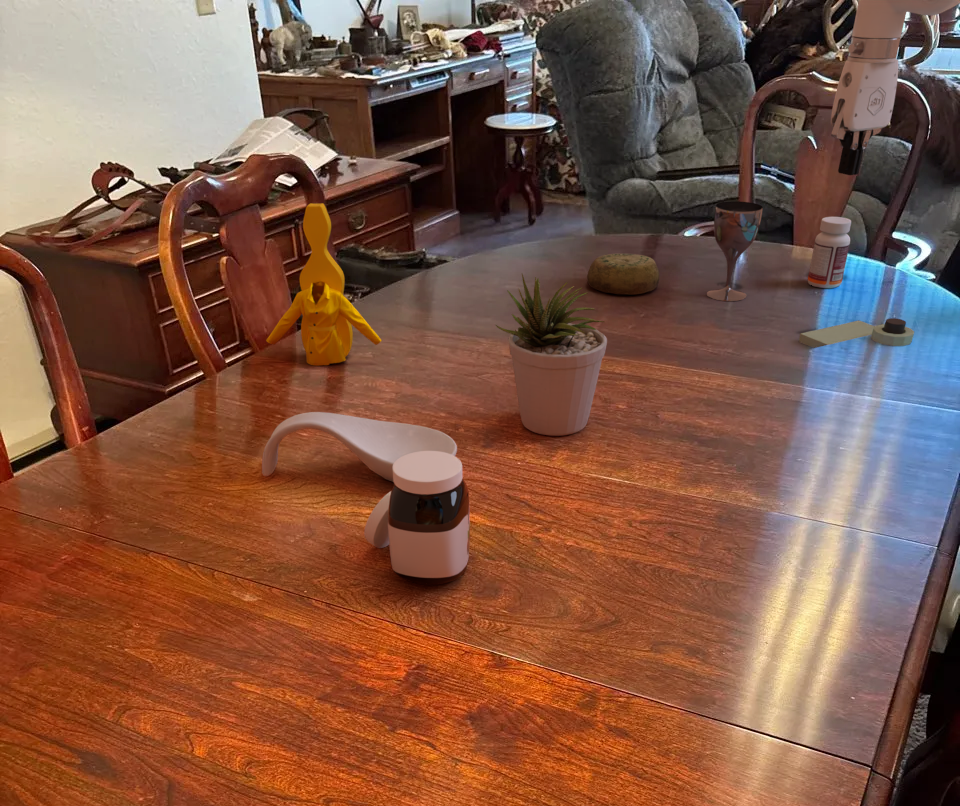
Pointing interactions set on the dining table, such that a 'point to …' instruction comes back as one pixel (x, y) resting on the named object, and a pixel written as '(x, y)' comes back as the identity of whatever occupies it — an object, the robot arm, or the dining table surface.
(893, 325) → the button
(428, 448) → the spoon rest
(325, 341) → the figure statuette
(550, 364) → the potted plant
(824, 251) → the pill bottle
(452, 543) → the spread jar
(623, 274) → the cheese wheel
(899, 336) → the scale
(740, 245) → the wine glass
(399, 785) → the dining table surface
